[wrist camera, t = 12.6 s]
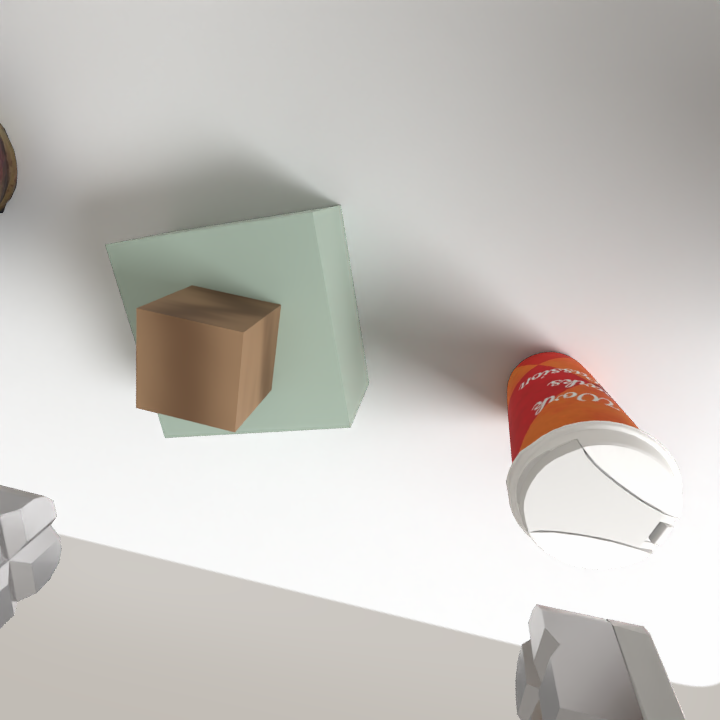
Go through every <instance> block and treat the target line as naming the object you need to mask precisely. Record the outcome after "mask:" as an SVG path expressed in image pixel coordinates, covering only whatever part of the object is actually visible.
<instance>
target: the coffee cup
mask: <svg viewBox="0 0 720 720" xmlns="http://www.w3.org/2000/svg"><path fill="white" fill-rule="evenodd" d="M507 405H508V419H509V432H510V444H511V456H512V465H511V467H510V470H509V472H508V476H507V480H506V484H507V490H508V496H509V504H510V507H511V510H512V513H513V515H514V517H515V519H516V521H517V523H518V524H519V525H520V527H521V528H522V529H523V531H524V532H525V533H526V534H527V535H528V536H529V537H531V538H532V540H533V541H534V542H535V543H536V544H537V545H538V546H539V547H540V548H541V549H542V550H543V551H545V552H546V553H548V554H549V555H551V556H552V557H554V558H556V559H558V560H560V561H562V562H565V563H567V564H570V565H573V566H578V567H582V568H590V569H611V568H617V567H623V566H626V565H630V564H633V563H635V562H638V561H640V560H643V559H645V558H646V557H648V556H650V555H651V554H652V549H653V548H654V546H655V545H658V546H659V545H660V544H661V543H662V541H663V540H664V539H665V538H666V536H667V535H668V534H669V532H670V531H671V530H672V529H673V526H672V524H673V523H674V521H675V519H676V518H678V519H679V518H680V514H681V508H682V507H681V497H682V480H681V475H680V471H679V469H678V466H677V464H676V462H675V460H674V459H673V457H672V456H671V454H670V453H669V451H668V450H667V449H666V448H665V447H664V446H663V445H662V444H661V443H660V442H659V441H658V440H656V439H655V438H653V437H652V436H650V435H649V434H647V433H645V432H643V431H641V430H640V429H639V428H638V427H637V426H636V425H635V424H634V422H633V421H632V420H631V419H630V418H629V417H628V416H627V415H626V413H625V412H624V411H623V410H622V409H621V408H620V407H619V405H618V404H617V403H616V402H615V401H614V400H613V399H612V398H611V396H610V395H609V394H608V393H607V392H606V391H605V390H604V389H603V387H602V386H601V385H600V384H599V383H598V382H597V381H596V380H595V379H594V378H593V376H592V375H591V374H590V373H589V372H588V371H587V370H586V369H585V368H584V367H583V366H582V365H581V364H580V363H579V362H577V361H576V360H575V359H573V358H571V357H569V356H567V355H565V354H561V353H556V352H544V353H539V354H535V355H532V356H530V357H528V358H526V359H525V360H523V361H522V362H521V363H520V364H518V366H517V367H516V368H515V369H514V370H513V372H512V374H511V376H510V378H509V381H508V386H507Z"/></svg>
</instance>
